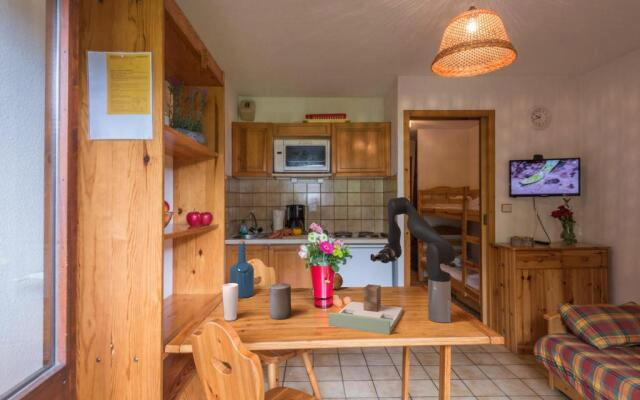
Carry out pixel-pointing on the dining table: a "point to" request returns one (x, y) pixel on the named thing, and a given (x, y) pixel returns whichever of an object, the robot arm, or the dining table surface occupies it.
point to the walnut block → (372, 298)
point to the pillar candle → (280, 301)
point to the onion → (337, 281)
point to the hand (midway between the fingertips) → (379, 260)
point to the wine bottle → (242, 273)
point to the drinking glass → (230, 301)
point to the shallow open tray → (366, 318)
